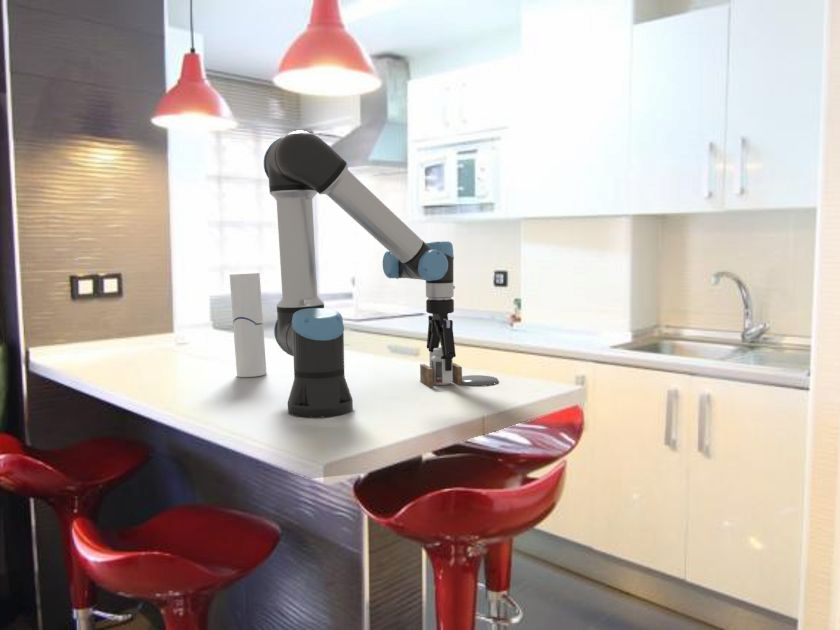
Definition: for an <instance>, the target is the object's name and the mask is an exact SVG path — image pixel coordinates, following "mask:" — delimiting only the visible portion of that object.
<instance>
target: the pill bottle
mask: <svg viewBox="0 0 840 630" xmlns="http://www.w3.org/2000/svg"><path fill="white" fill-rule="evenodd" d="M433 354H434V356H433V357H431V368H432V369H433V386H434V385H435V386H446V385H450V384H451V383H442V359H441V357H442V356H443V353H442V348H441V347H439V348H434V349H433Z"/></svg>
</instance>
